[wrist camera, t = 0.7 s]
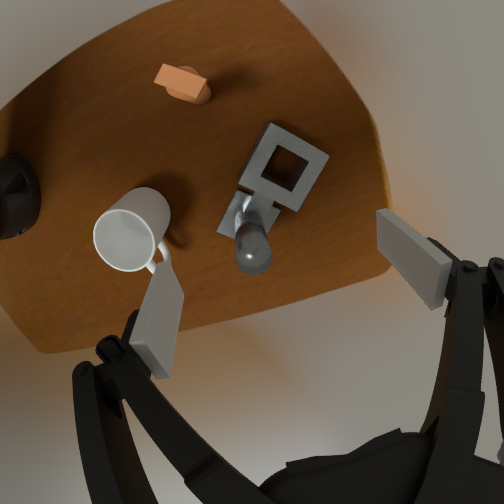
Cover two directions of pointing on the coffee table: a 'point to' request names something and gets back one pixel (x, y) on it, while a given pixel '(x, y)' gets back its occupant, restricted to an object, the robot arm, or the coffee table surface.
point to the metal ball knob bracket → (267, 196)
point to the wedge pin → (184, 84)
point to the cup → (133, 230)
